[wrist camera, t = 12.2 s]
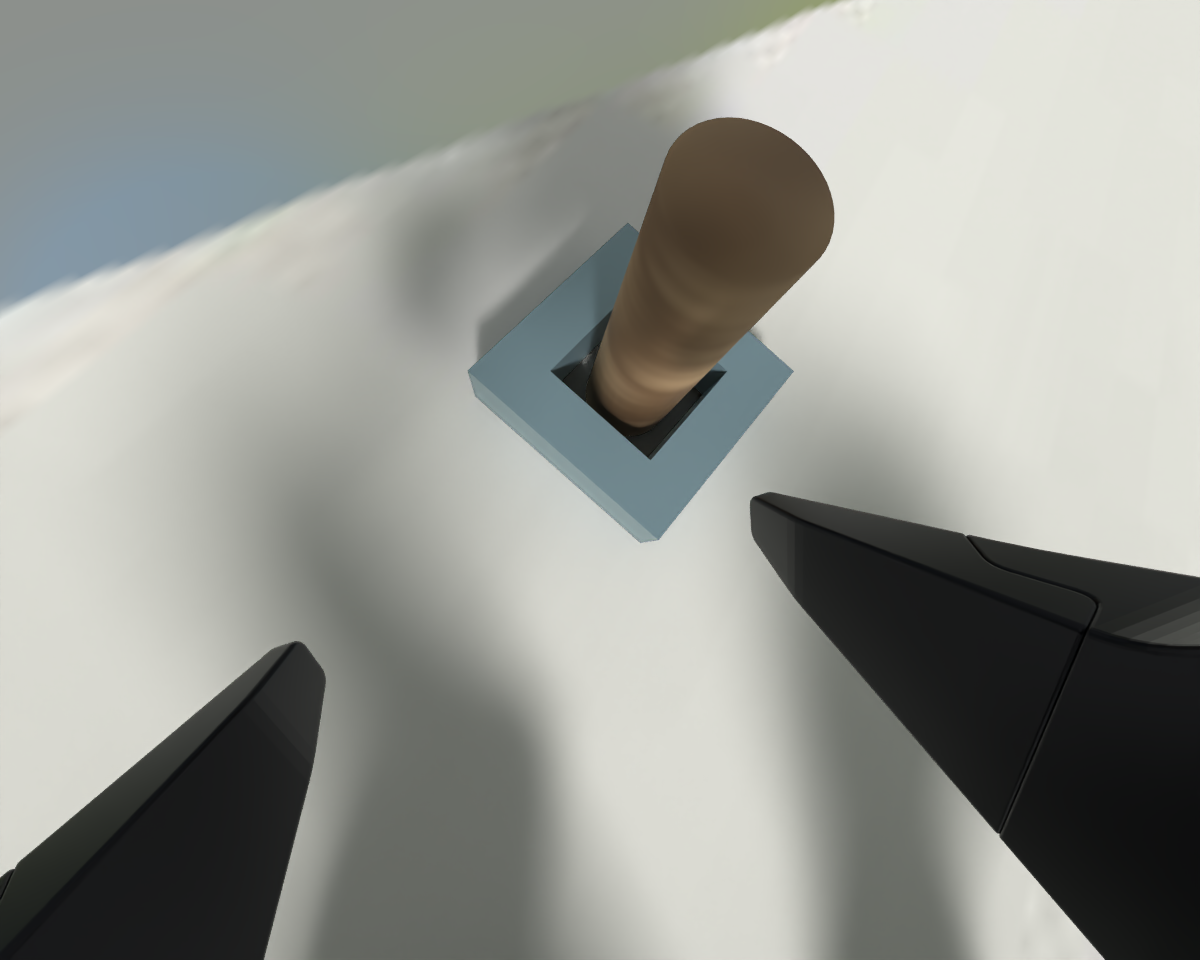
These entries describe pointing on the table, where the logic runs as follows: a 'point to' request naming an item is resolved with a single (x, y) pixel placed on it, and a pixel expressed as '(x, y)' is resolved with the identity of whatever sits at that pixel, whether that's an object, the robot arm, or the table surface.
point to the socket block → (586, 440)
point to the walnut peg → (707, 264)
